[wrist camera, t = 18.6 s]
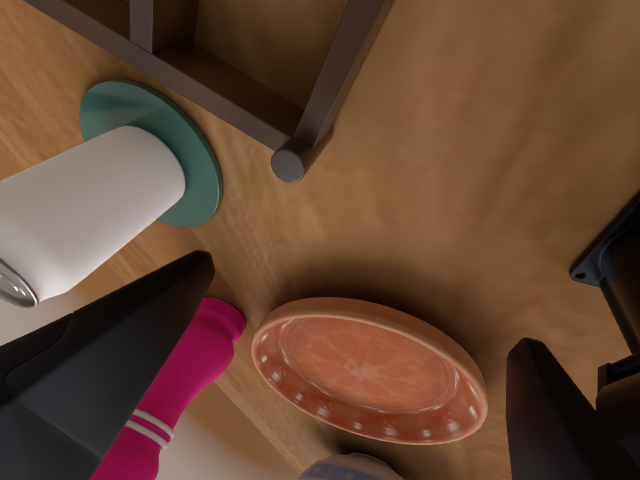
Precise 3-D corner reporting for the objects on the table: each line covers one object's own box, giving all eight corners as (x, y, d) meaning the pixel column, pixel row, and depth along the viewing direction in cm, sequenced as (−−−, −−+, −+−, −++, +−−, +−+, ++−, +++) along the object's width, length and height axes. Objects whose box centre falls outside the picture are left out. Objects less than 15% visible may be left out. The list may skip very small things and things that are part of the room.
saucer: (415, 252, 22) (411, 289, 20) (520, 415, 31) (526, 457, 28) (227, 307, 35) (209, 334, 33) (337, 411, 44) (330, 439, 41)
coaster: (231, 237, 28) (227, 242, 27) (118, 204, 30) (113, 208, 29) (210, 96, 20) (205, 99, 19) (58, 64, 22) (50, 66, 21)
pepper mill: (250, 307, 34) (99, 555, 19) (250, 340, 39) (131, 558, 24) (191, 285, 35) (6, 505, 20) (199, 320, 40) (54, 518, 25)
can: (133, 193, 27) (-18, 296, 18) (100, 118, 23) (-117, 205, 14) (197, 207, 26) (66, 326, 17) (174, 129, 21) (-16, 235, 13)
